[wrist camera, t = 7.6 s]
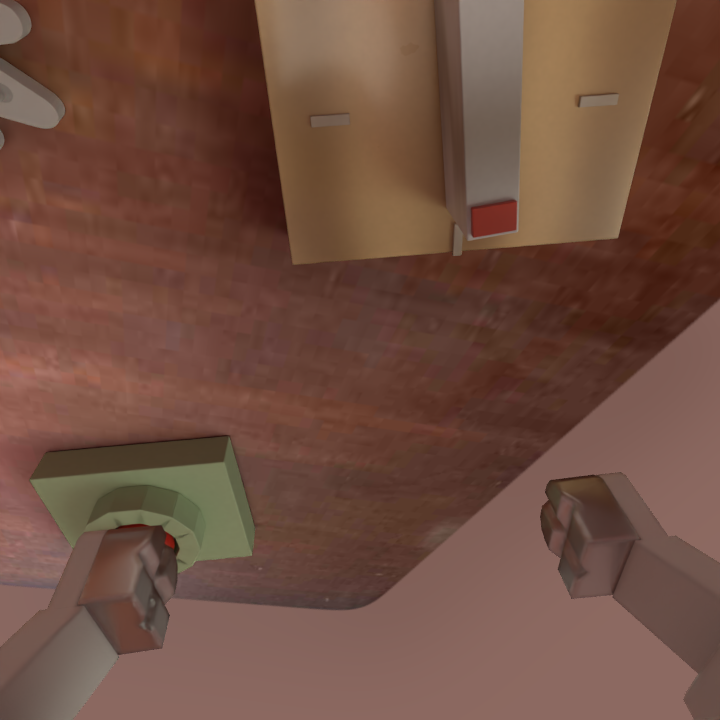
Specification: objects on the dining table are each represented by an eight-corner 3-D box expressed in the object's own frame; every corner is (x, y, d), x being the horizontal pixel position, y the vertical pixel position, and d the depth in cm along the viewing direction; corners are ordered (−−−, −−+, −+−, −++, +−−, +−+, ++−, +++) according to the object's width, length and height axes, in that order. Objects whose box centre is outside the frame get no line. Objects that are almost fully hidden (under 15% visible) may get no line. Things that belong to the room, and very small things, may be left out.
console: (294, 240, 24) (292, 269, 21) (252, -69, 17) (241, -82, 15) (587, 217, 24) (619, 242, 22) (651, -95, 18) (708, -111, 15)
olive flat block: (98, 543, 36) (76, 597, 32) (45, 451, 30) (12, 505, 27) (255, 528, 36) (249, 581, 33) (229, 435, 31) (219, 486, 27)
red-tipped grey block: (433, -2, 16) (460, -5, 13) (488, -13, 16) (528, -18, 13) (445, 208, 20) (468, 244, 17) (490, 200, 20) (521, 235, 17)
